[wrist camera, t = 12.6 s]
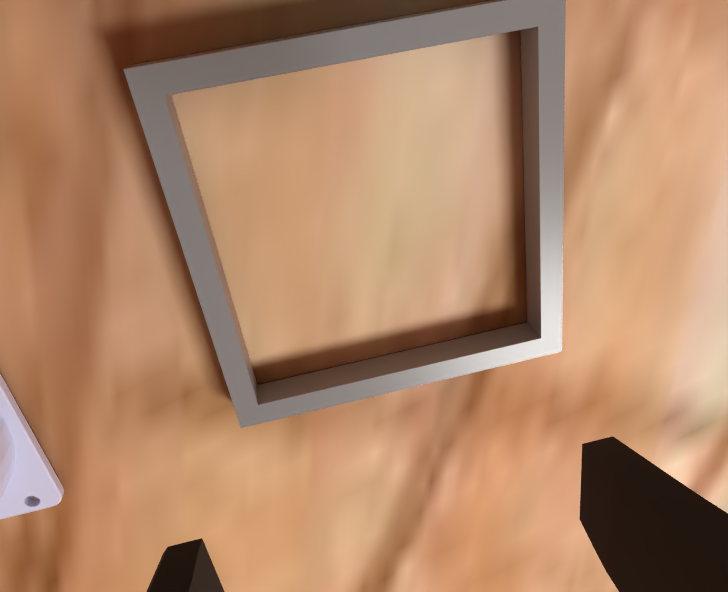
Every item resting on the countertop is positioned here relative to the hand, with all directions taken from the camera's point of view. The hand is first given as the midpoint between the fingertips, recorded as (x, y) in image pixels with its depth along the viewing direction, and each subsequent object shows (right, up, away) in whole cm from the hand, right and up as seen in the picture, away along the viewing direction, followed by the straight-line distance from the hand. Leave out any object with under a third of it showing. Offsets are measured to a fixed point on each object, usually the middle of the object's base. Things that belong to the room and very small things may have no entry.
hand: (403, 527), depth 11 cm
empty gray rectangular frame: (0, +7, +8) cm, 11 cm away
